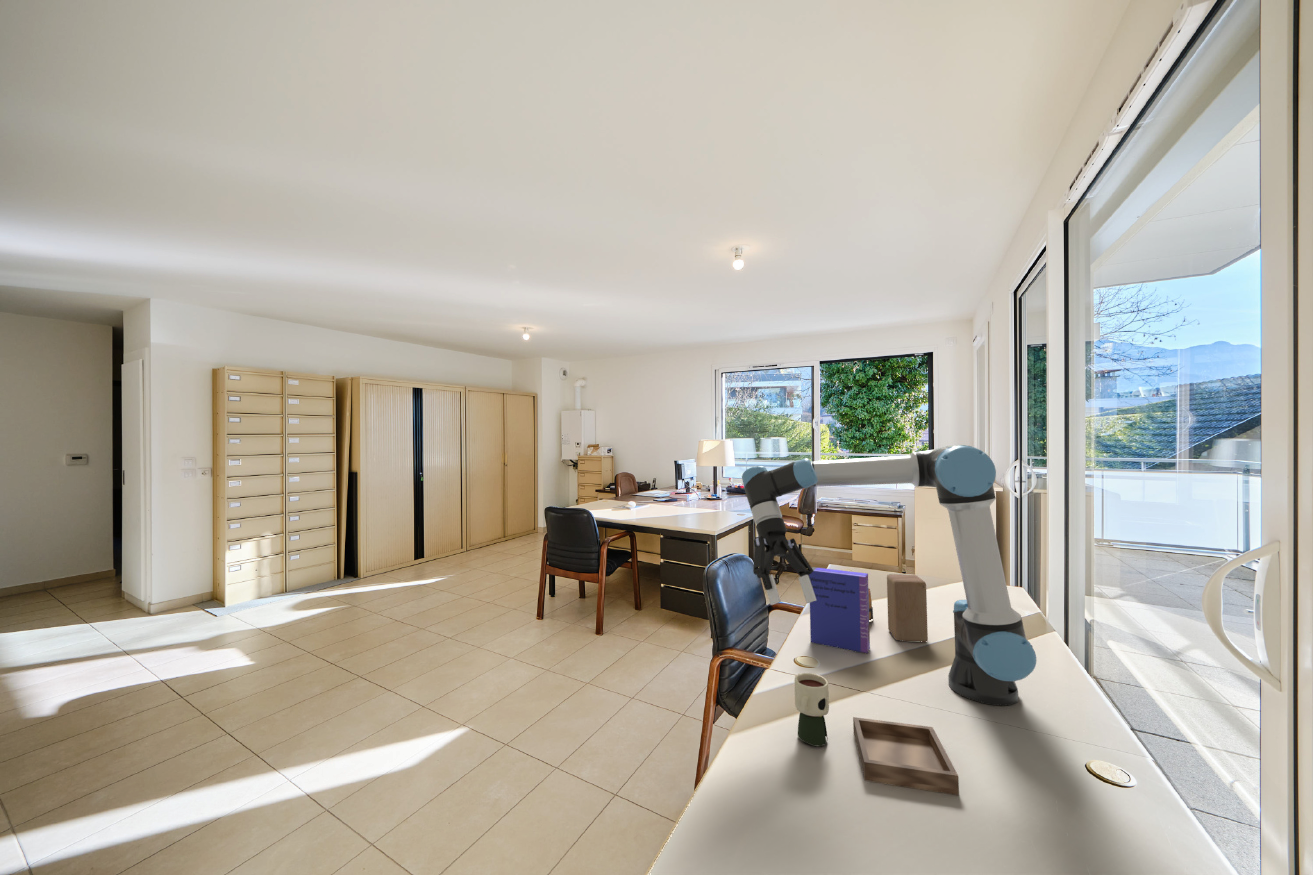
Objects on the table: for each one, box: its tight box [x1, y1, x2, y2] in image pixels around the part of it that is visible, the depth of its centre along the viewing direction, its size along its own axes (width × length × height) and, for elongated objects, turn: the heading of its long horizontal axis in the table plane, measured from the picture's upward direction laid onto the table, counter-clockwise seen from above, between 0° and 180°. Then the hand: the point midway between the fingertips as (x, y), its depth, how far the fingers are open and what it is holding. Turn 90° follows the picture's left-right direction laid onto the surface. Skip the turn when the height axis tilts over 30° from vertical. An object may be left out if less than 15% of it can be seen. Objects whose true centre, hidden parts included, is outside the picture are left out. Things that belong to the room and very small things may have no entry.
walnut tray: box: [852, 716, 960, 796], centre depth 97 cm, size 16×16×4 cm
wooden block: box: [886, 573, 929, 643], centre depth 161 cm, size 10×10×20 cm
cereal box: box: [809, 566, 871, 655], centre depth 155 cm, size 17×5×24 cm, turn 58°
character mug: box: [794, 672, 830, 747], centre depth 105 cm, size 11×7×13 cm, turn 144°
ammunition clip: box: [868, 588, 874, 620], centre depth 174 cm, size 11×2×12 cm, turn 133°
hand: (794, 602), depth 117 cm, fingers open, 13 cm apart
